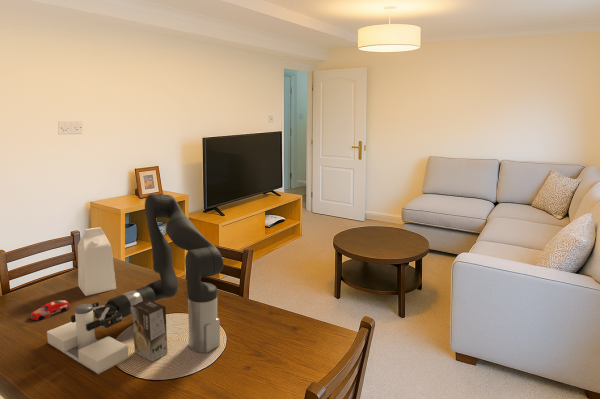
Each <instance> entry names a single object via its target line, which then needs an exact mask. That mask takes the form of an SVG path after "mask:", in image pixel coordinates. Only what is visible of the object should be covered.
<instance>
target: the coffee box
mask: <svg viewBox="0 0 600 399" xmlns="http://www.w3.org/2000/svg"><path fill="white" fill-rule="evenodd" d="M166 309H167V308H166V306H165V305H162V304H160V303H158V302H157V301H154V302H153V301H151V300H149V299H147V300H144V301H142V302H139V303H137V304H136V305H133V306H132V314H131V316H132V330H133V344H134V347H133V348H134V353H135V354H137V355H139V356H141V357H143V358H144V359H146V360H148V361H150V362H155V361H156V360H158V359H160V358H161V357H163V356H165V355H167V354H168V338H167V337H168V334H167V332H168V330H167V311H166Z"/></svg>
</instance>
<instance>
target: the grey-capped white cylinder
mask: <svg viewBox="0 0 600 399" xmlns="http://www.w3.org/2000/svg"><path fill="white" fill-rule="evenodd" d="M91 304H92V303H82V304H78V305H77V306H75V307H74V315H75V319H76V330H77V341H78V350H79V349H81V348H84V347H86V346H88V345H90V344H92V343H94V342H96V341H95V338H96V334H95V333H96V332H95V329H96V328H95V329H93V330H90V331H87V330H86V324H88V323H90V322H93V321H95V320H94V319H95V318H94V317H93V315H94V312H93V306H92V305H91Z"/></svg>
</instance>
